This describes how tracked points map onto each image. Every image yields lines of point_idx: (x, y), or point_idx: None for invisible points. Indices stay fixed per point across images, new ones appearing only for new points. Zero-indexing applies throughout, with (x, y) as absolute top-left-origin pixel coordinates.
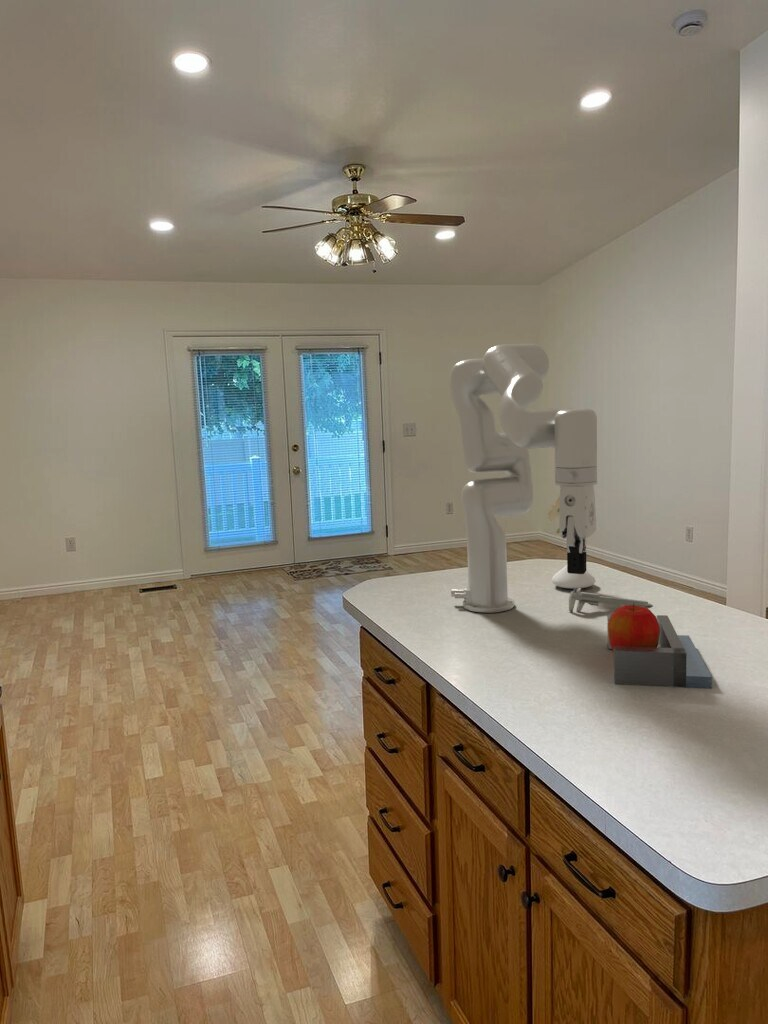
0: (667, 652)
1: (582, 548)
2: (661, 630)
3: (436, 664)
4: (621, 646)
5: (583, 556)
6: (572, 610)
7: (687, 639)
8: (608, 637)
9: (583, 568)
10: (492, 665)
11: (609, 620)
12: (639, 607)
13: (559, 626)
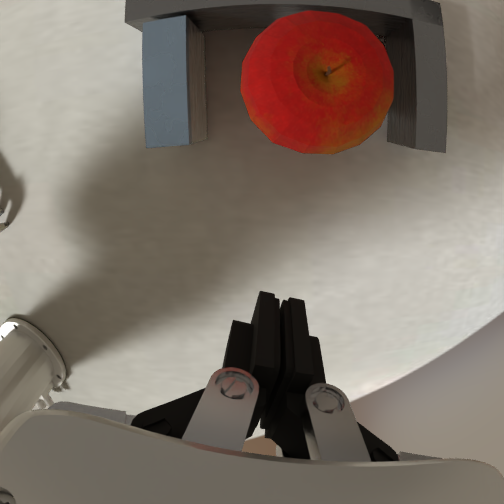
0: (443, 38)
1: (316, 410)
2: (225, 10)
3: None
4: (417, 130)
5: (311, 364)
6: (4, 223)
7: None
8: (201, 140)
9: (303, 317)
10: (323, 350)
11: (318, 149)
12: (307, 49)
13: (78, 244)
